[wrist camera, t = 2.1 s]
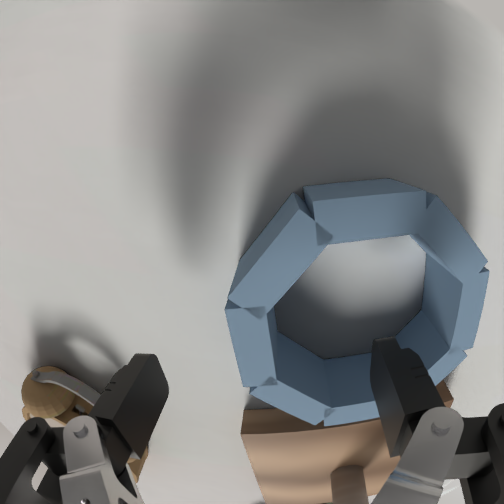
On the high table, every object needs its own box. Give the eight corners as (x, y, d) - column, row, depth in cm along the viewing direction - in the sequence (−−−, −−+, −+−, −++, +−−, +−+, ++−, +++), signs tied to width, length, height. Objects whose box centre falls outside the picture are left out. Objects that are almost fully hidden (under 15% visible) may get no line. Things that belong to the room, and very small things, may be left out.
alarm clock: (34, 439, 19) (-11, 370, 11) (53, 405, 23) (29, 322, 16) (131, 493, 20) (146, 470, 12) (146, 456, 24) (172, 404, 16)
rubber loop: (223, 197, 12) (204, 216, 9) (450, 175, 11) (495, 187, 8) (259, 384, 16) (255, 431, 12) (432, 357, 14) (455, 396, 11)
